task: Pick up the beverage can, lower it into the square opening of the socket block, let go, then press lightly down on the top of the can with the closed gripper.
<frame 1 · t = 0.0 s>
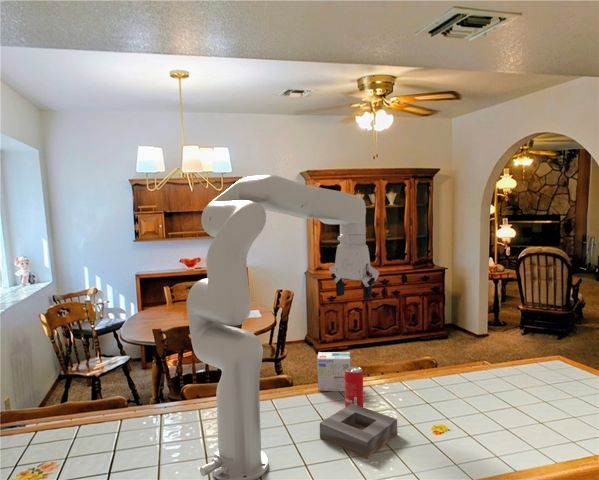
hand: (353, 297, 128), 31 cm above the kitchen counter, tool pointing down, fingers open, 9 cm apart
light bulb box: (334, 387, 139), on the kitchen counter
socket block: (358, 436, 109), on the kitchen counter
beverage can: (354, 410, 123), on the kitchen counter
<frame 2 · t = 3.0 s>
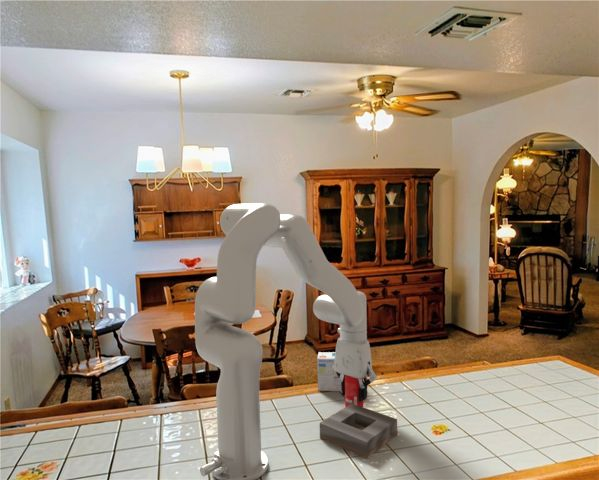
hand: (354, 396, 123), 4 cm above the kitchen counter, tool pointing down, fingers closed on beverage can, 5 cm apart
beverage can: (354, 410, 123), on the kitchen counter, touching gripper
everything else where it was.
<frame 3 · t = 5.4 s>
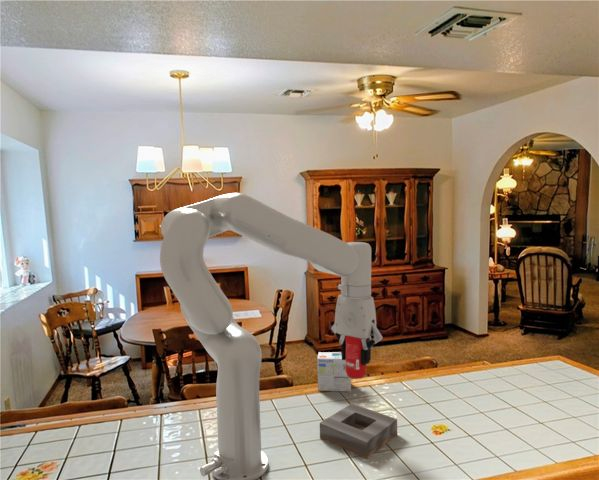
hand: (355, 360, 110), 19 cm above the kitchen counter, tool pointing down, fingers closed on beverage can, 5 cm apart
beverage can: (355, 376, 110), point 15 cm above the kitchen counter, touching gripper
everything else where it was.
when the fingers open (6 cm above the kitchen counter, at t = 7.9 s): beverage can stays where it is, resting on socket block.
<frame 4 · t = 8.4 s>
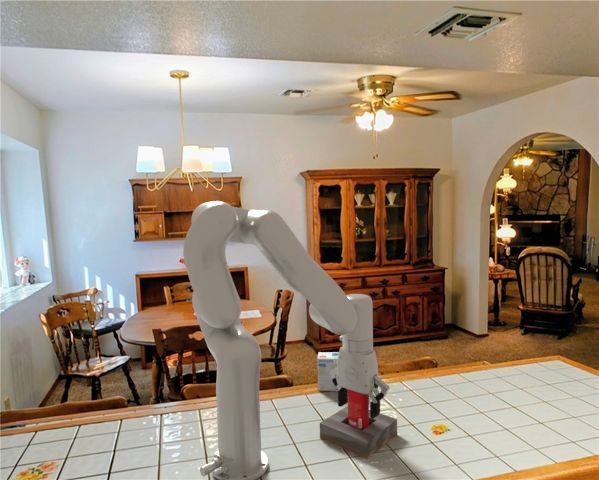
hand: (358, 410, 108), 7 cm above the kitchen counter, tool pointing down, fingers open, 9 cm apart
beverage can: (358, 433, 109), point 1 cm above the kitchen counter, touching socket block
everything else where it was.
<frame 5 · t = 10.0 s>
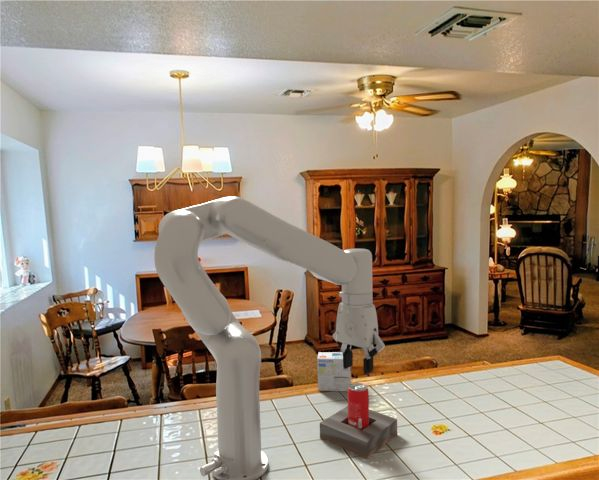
hand: (357, 369, 108), 17 cm above the kitchen counter, tool pointing down, fingers open, 5 cm apart
nothing on the kitchen counter moved.
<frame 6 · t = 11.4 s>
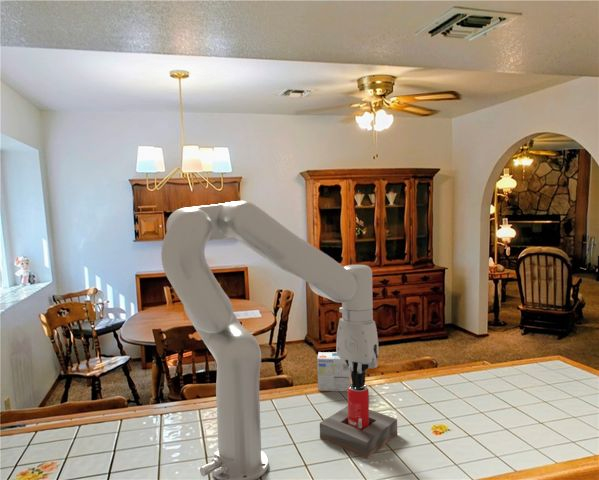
hand: (358, 386, 108), 13 cm above the kitchen counter, tool pointing down, fingers closed
beverage can: (358, 433, 109), point 1 cm above the kitchen counter, touching gripper, socket block
everything else where it was.
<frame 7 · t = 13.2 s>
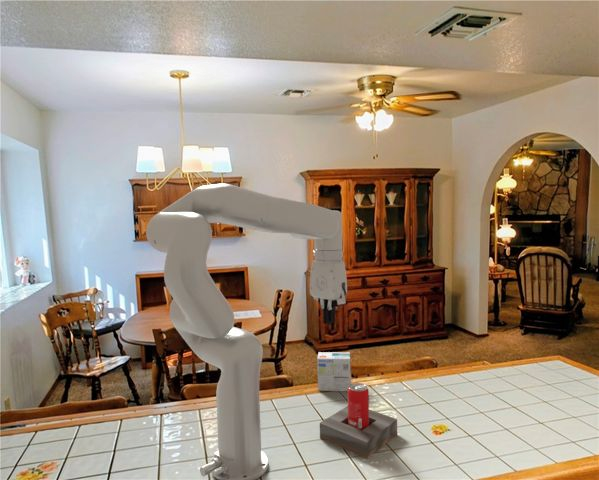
hand: (329, 322, 117), 27 cm above the kitchen counter, tool pointing down, fingers closed
beverage can: (358, 433, 109), point 1 cm above the kitchen counter, touching socket block
everything else where it was.
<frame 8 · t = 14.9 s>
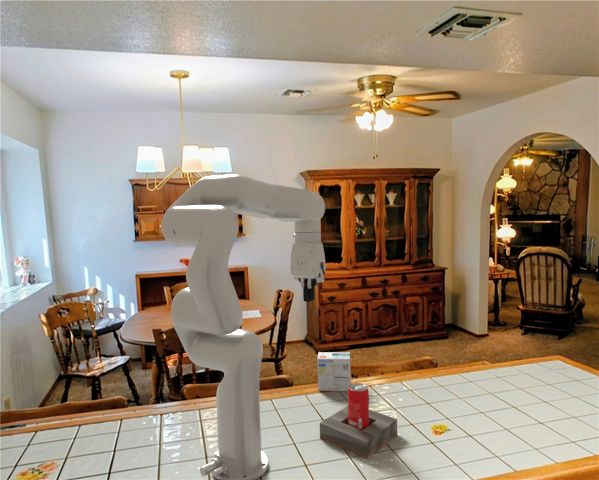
hand: (309, 300, 125), 31 cm above the kitchen counter, tool pointing down, fingers closed
nothing on the kitchen counter moved.
at the end: beverage can 0.2 cm off-centre on the socket block, point 0.8 cm above the socket block's base; beverage can tilted 0°; the gripper is holding nothing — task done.
